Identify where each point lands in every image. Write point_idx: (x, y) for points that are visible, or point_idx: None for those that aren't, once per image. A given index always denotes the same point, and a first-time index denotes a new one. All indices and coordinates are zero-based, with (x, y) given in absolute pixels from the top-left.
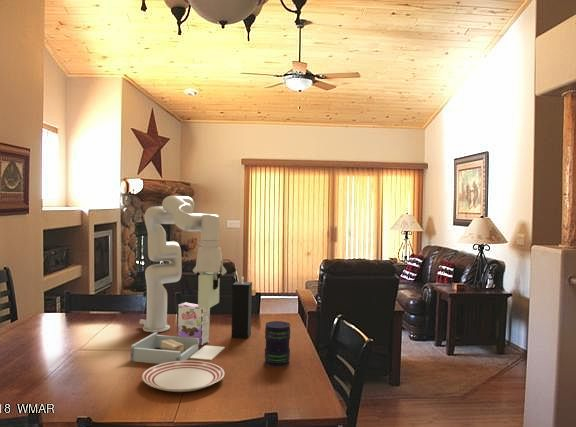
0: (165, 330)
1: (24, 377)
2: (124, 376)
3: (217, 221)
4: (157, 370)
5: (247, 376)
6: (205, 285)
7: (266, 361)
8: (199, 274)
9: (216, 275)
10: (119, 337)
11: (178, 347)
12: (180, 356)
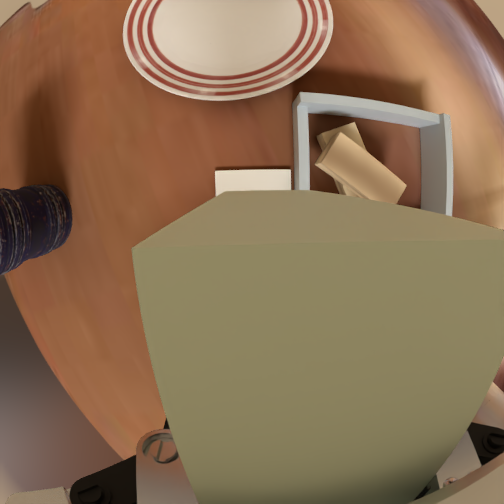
0: None
1: (497, 46)
2: (378, 28)
3: None
4: (314, 29)
5: (85, 97)
6: (274, 203)
7: (59, 195)
8: (472, 447)
9: (141, 490)
10: None
11: (330, 145)
12: (297, 104)
